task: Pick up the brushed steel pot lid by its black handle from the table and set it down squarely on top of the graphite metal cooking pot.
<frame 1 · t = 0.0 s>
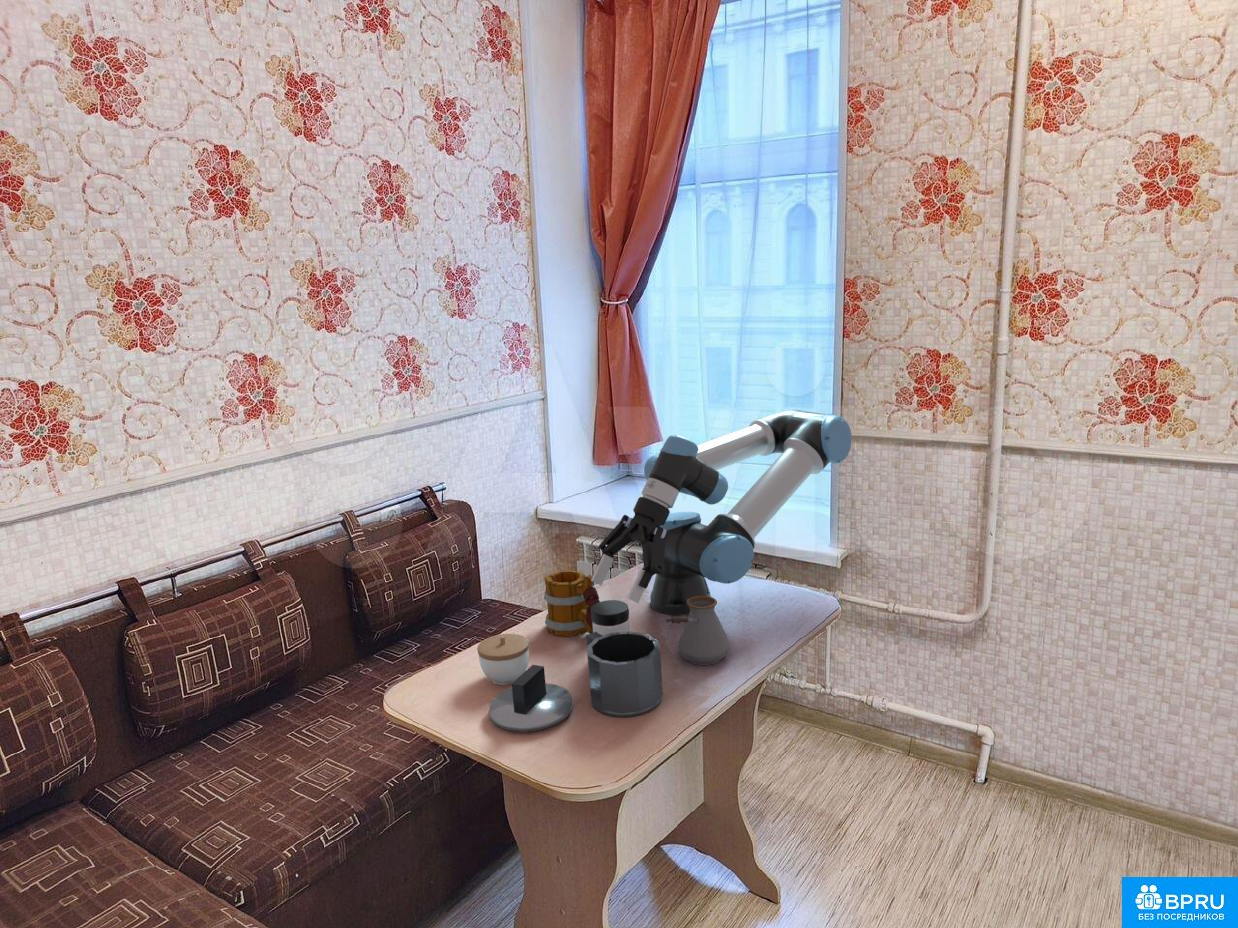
hand: (613, 591, 178), 15 cm above the table, tool tilted 35°, fingers open, 13 cm apart
lidded jar: (506, 678, 175), on the table
lid: (531, 713, 161), on the table
pot: (626, 698, 164), on the table
jar: (613, 659, 181), on the table
coffee pot: (693, 667, 175), on the table
mug: (576, 630, 196), on the table
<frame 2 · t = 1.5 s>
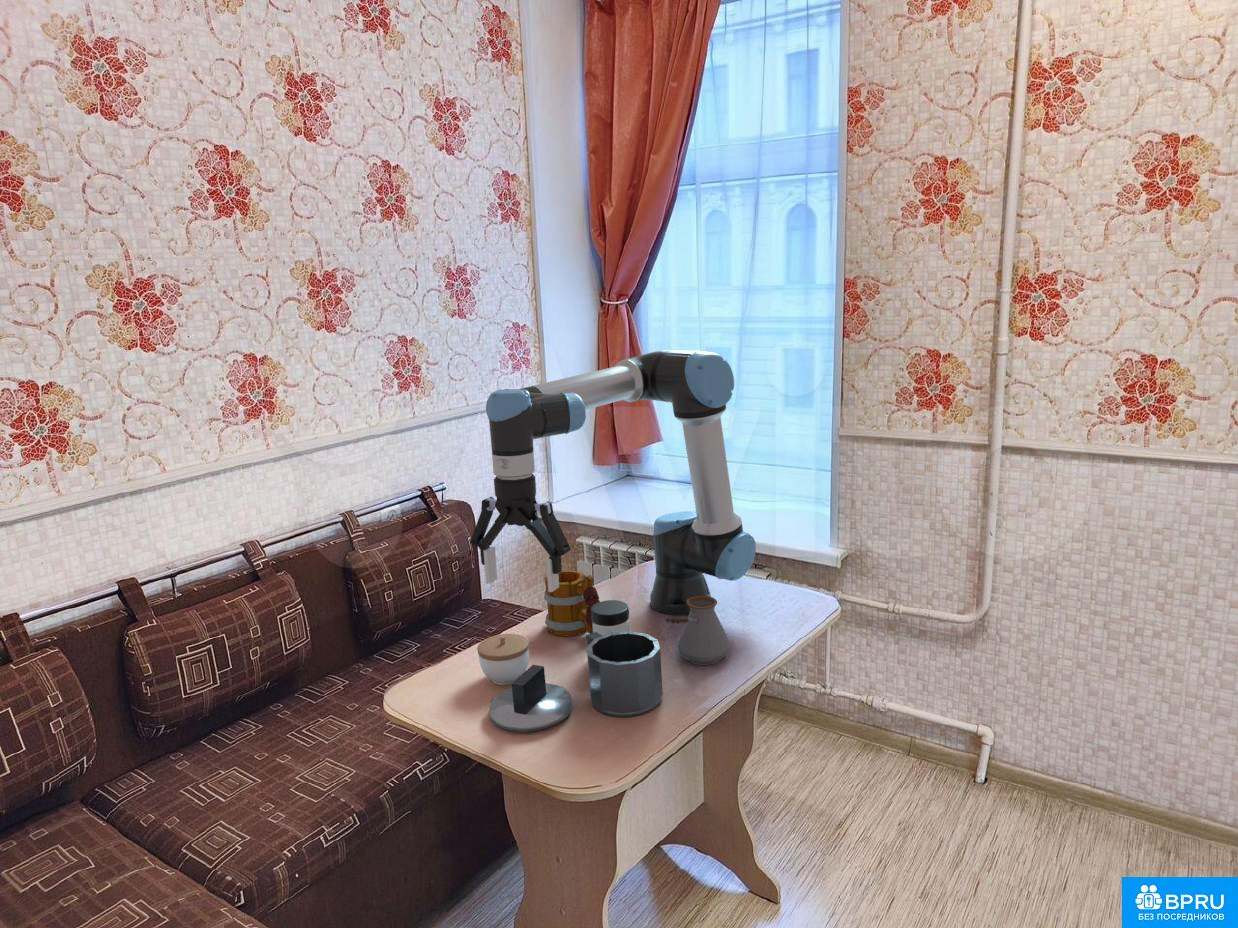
hand: (522, 585, 155), 26 cm above the table, tool pointing down, fingers open, 13 cm apart
nothing on the table moved.
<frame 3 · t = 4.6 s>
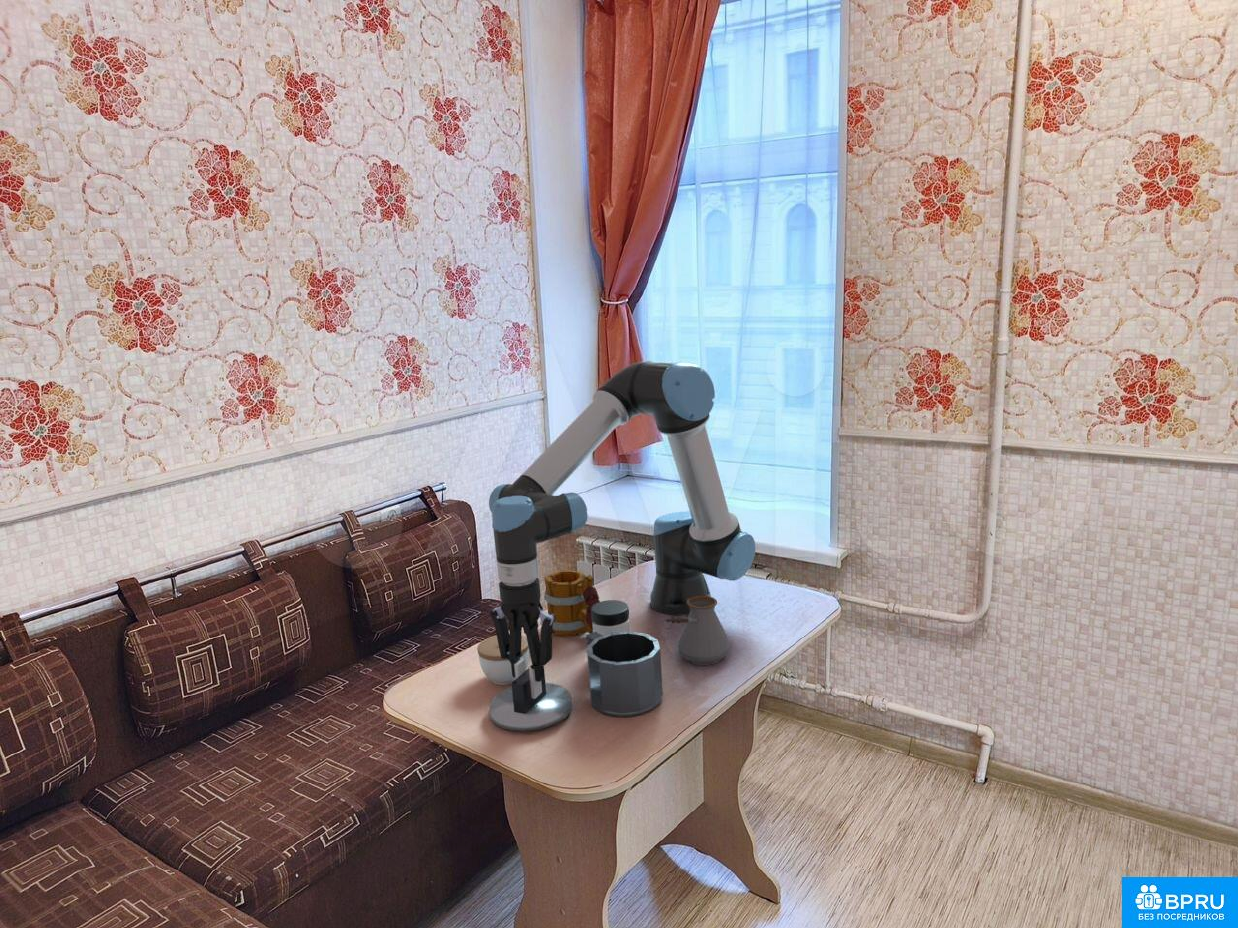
hand: (529, 693, 160), 4 cm above the table, tool pointing down, fingers closed on lid, 2 cm apart
lid: (531, 712, 161), on the table, touching gripper
everything else where it was.
when the fingers open (15 cm above the table, at t = 9.8 s): lid drops 1 cm, resting on pot.
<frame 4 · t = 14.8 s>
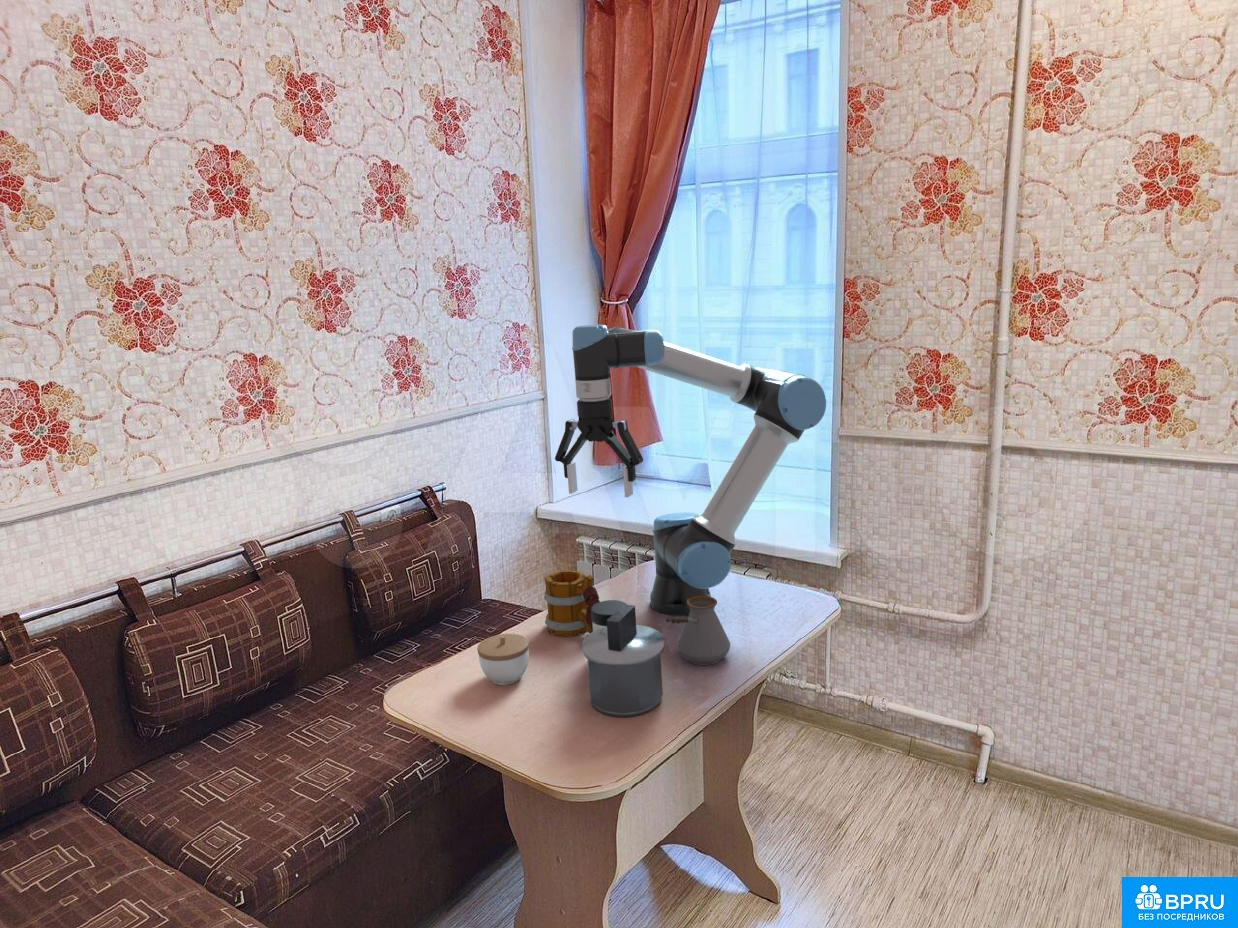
hand: (600, 494, 182), 35 cm above the table, tool pointing down, fingers open, 13 cm apart
lid: (623, 651, 161), point 10 cm above the table, touching pot
everything else where it was.
at the end: lid 0.0 cm off-centre on the pot, point 10.0 cm above the pot's base; lid tilted 0°; the gripper is holding nothing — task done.
